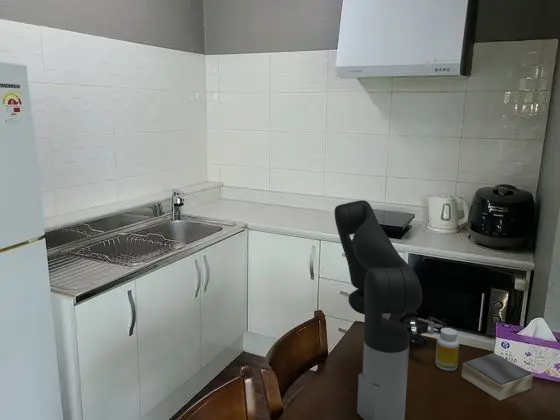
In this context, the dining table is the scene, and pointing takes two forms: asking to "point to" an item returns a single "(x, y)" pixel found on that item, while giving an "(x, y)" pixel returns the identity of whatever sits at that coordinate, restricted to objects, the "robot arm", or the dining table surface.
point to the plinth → (497, 376)
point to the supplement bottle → (447, 349)
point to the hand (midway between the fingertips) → (439, 340)
